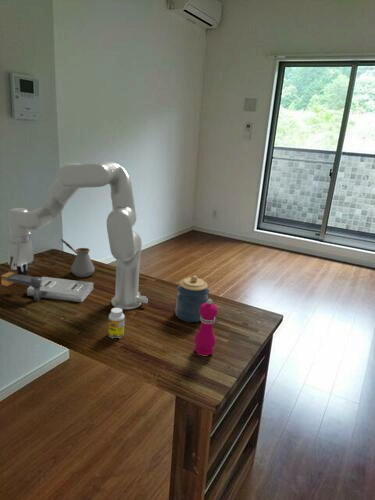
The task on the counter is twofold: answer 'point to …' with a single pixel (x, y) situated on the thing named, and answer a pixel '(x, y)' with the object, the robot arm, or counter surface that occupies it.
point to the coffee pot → (81, 262)
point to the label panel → (63, 289)
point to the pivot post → (37, 294)
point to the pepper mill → (206, 329)
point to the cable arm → (20, 279)
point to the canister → (191, 298)
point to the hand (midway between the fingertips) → (22, 279)
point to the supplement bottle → (116, 323)
